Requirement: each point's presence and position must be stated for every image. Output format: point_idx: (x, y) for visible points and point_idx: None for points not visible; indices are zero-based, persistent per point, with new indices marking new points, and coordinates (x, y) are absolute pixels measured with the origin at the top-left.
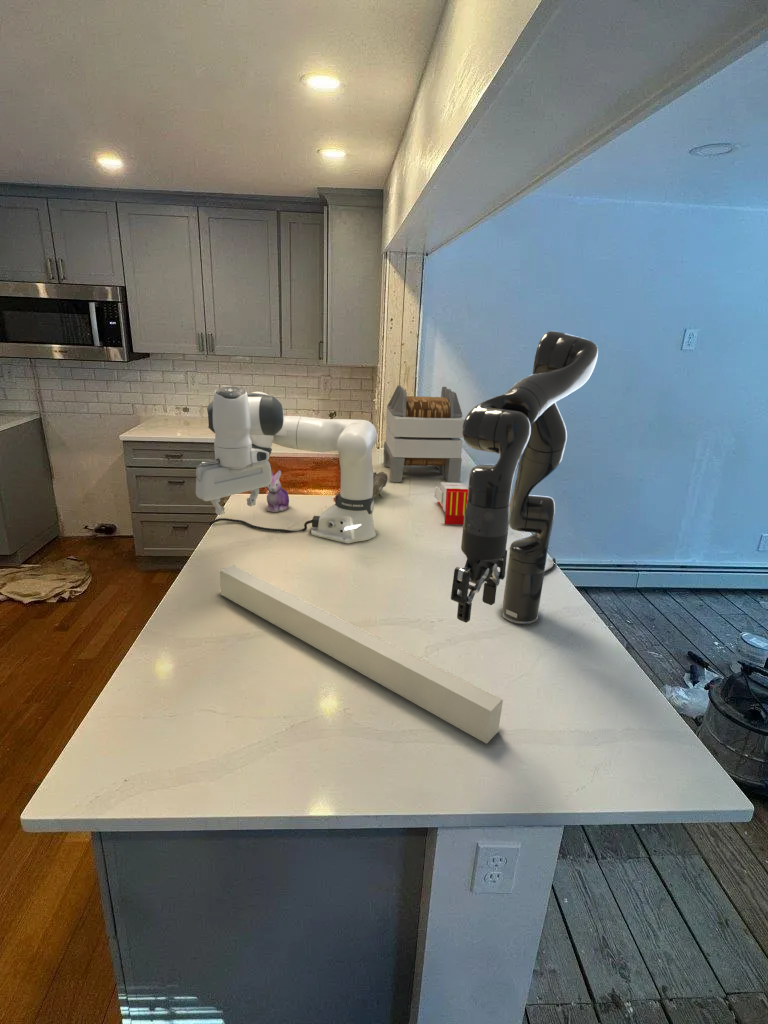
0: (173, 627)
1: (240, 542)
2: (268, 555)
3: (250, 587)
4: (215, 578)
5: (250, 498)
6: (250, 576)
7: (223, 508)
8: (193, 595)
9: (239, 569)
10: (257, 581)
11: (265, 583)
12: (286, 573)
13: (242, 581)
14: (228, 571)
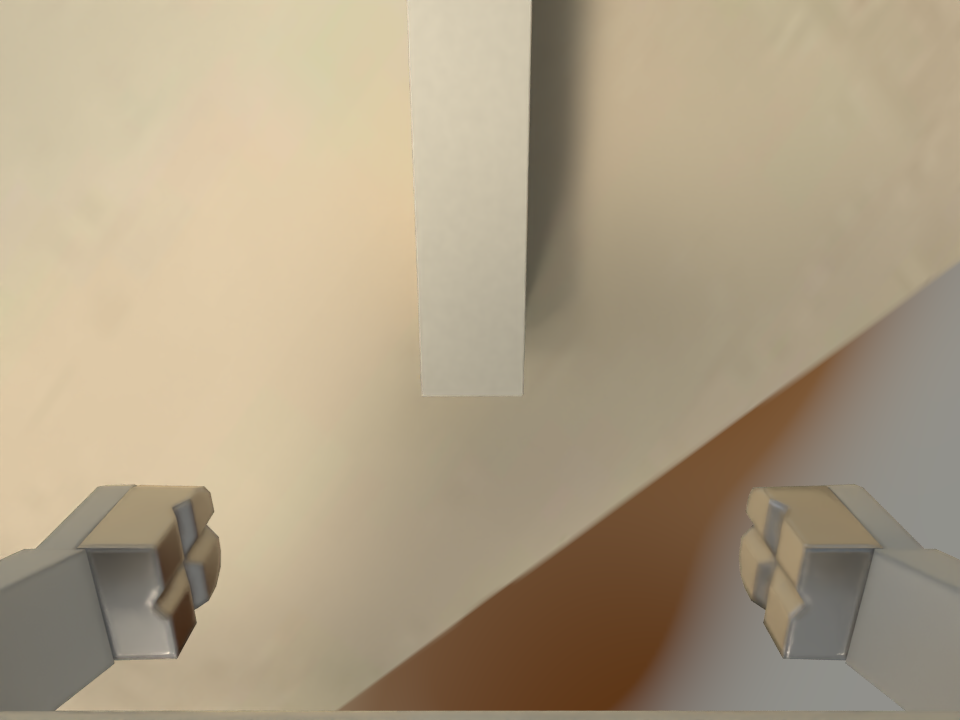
0: (856, 234)
1: (132, 697)
2: None
3: (530, 67)
4: (432, 488)
5: (112, 628)
6: (443, 187)
7: (819, 540)
8: (604, 421)
9: (433, 319)
10: (455, 88)
11: (434, 19)
12: (117, 297)
13: (525, 164)
14: (499, 342)
